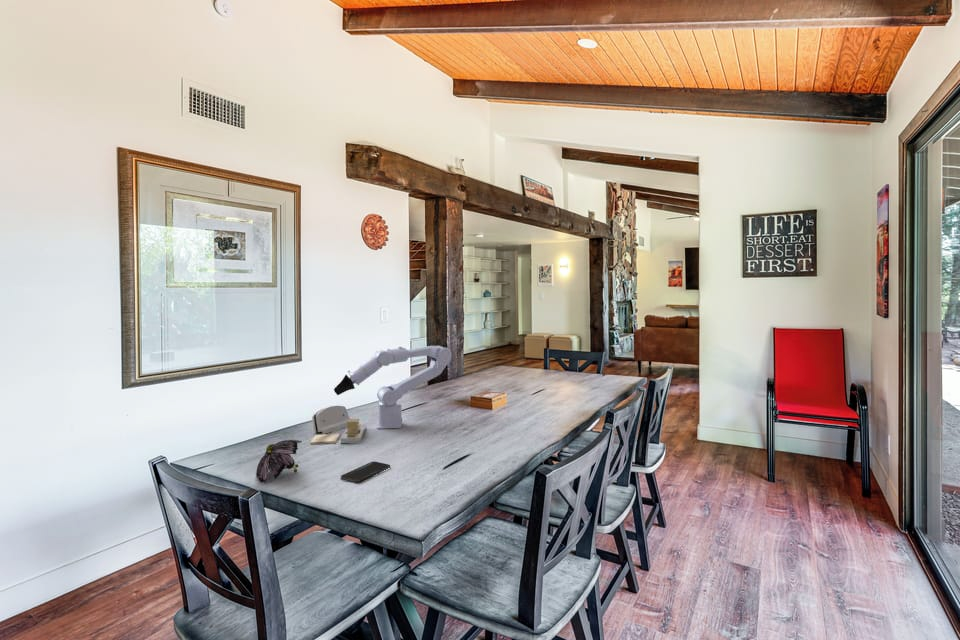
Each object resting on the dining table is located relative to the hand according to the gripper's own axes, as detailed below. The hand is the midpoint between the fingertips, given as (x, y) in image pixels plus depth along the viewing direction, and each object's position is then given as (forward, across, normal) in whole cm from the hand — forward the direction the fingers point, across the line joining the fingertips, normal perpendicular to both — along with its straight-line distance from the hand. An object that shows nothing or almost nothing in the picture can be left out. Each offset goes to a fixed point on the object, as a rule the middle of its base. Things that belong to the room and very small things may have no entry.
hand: (335, 392), depth 194 cm
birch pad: (+13, +4, +12) cm, 18 cm away
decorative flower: (+28, +35, +14) cm, 46 cm away
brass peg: (+4, +3, +18) cm, 19 cm away
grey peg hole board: (+4, +2, +18) cm, 18 cm away
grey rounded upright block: (+9, -11, +10) cm, 18 cm away
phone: (+8, +40, +30) cm, 50 cm away
